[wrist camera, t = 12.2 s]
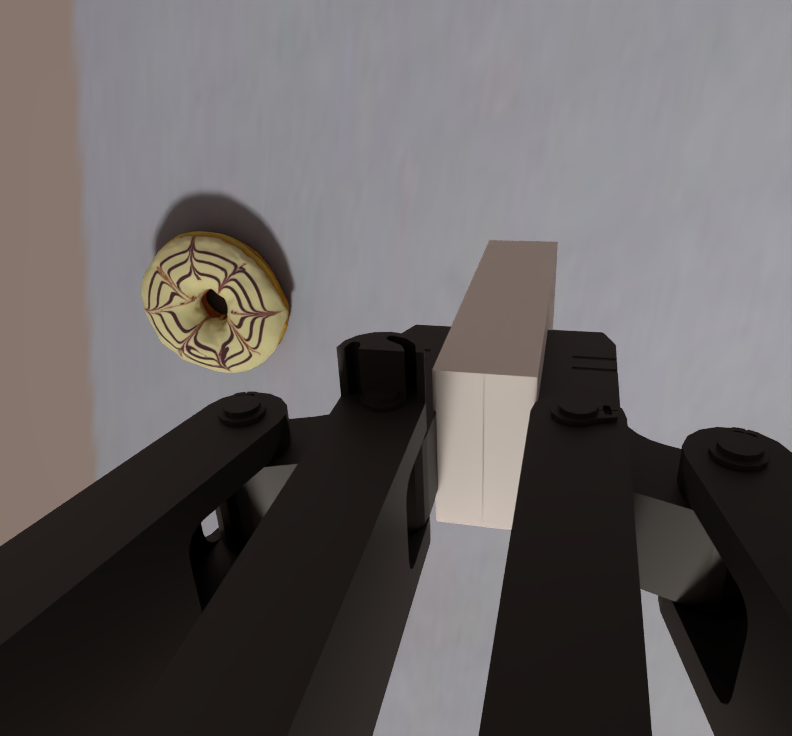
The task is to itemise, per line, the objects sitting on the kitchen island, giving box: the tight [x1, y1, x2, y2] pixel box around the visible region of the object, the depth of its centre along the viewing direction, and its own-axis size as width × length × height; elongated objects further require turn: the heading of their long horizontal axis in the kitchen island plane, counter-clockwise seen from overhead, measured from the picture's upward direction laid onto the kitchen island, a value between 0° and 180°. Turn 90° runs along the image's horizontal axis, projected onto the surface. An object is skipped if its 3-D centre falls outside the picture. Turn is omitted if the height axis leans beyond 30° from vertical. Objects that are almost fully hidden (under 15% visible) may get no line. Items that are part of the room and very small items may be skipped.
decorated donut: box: [141, 231, 289, 372], centre depth 51 cm, size 10×11×4 cm
